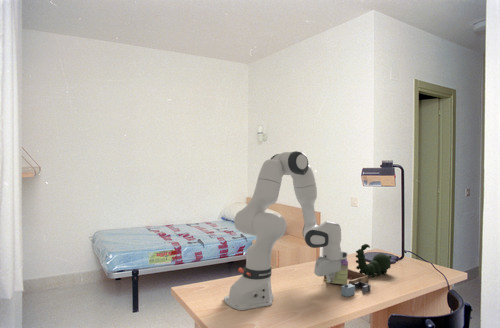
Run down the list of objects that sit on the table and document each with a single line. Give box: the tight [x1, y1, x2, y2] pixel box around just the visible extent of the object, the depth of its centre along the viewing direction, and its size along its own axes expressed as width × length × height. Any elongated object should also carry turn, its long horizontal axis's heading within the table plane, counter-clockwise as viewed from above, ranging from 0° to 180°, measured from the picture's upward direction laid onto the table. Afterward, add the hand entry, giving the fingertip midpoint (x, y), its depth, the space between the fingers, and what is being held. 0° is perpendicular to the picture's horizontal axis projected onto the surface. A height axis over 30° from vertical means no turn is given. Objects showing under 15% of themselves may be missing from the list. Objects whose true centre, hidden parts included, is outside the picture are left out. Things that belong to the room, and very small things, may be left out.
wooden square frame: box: [323, 268, 369, 285], centre depth 181 cm, size 14×17×4 cm
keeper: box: [354, 281, 371, 294], centre depth 170 cm, size 5×6×3 cm
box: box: [325, 259, 349, 286], centre depth 178 cm, size 10×6×12 cm, turn 76°
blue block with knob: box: [340, 283, 356, 298], centre depth 164 cm, size 6×3×5 cm, turn 126°
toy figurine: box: [355, 243, 393, 278], centre depth 192 cm, size 9×19×25 cm
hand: (330, 281), depth 174 cm, fingers closed
